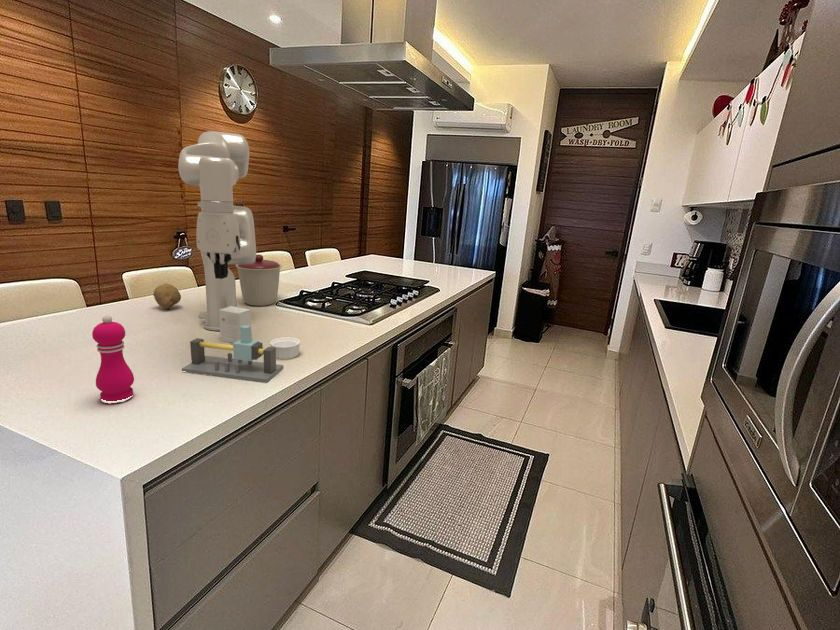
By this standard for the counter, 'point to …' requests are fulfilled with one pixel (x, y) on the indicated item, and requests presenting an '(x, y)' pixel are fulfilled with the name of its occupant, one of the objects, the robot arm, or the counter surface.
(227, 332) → the small box
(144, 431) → the counter surface
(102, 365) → the pepper mill
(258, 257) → the canister
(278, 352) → the ramekin
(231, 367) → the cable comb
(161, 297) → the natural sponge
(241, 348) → the sleeve
